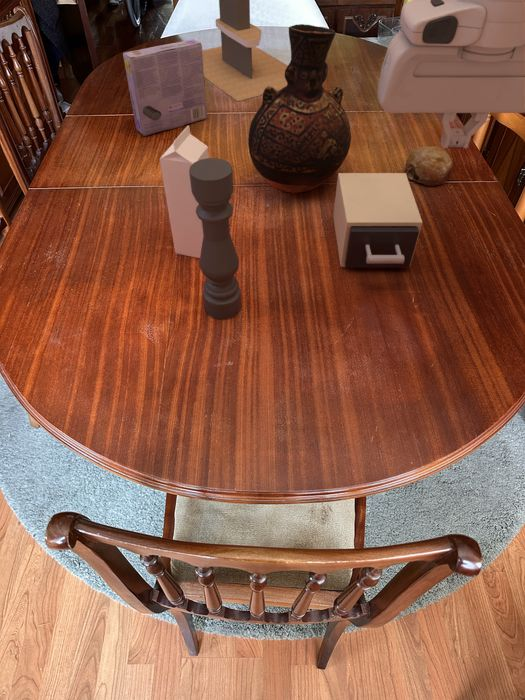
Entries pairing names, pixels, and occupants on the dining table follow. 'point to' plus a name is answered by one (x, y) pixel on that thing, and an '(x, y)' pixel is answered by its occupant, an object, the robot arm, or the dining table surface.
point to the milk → (183, 192)
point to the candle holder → (216, 236)
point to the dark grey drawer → (380, 247)
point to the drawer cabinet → (372, 204)
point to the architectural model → (241, 56)
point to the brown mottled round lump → (429, 165)
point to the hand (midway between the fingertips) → (453, 146)
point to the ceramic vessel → (301, 119)
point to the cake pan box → (166, 86)
